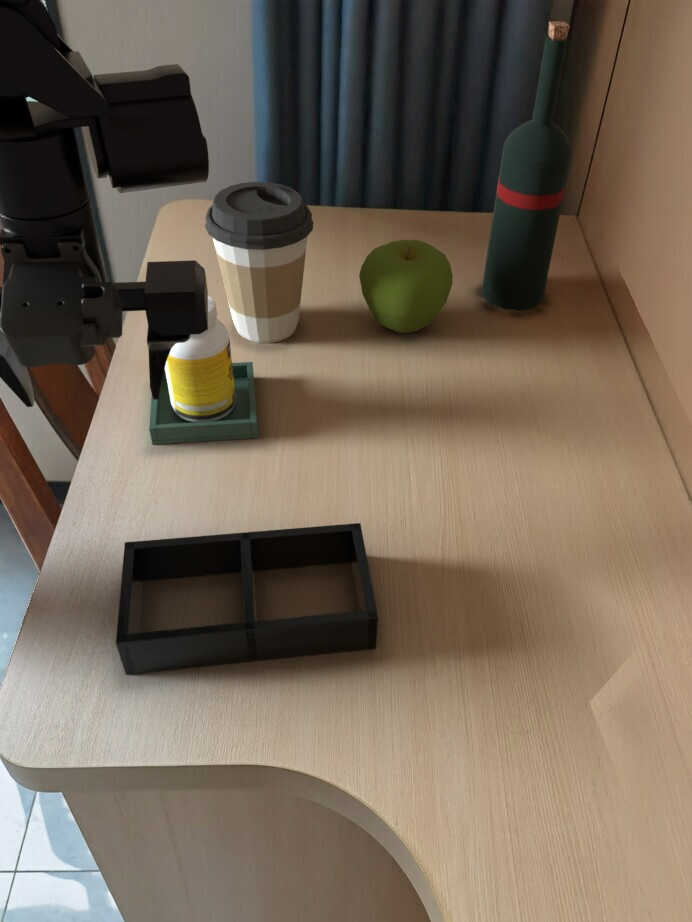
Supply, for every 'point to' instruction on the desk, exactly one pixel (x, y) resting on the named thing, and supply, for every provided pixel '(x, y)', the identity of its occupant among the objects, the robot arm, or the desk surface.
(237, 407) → the tray
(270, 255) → the coffee cup
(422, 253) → the apple
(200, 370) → the pill bottle
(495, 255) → the wine bottle
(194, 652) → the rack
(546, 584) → the desk surface
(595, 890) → the desk surface
